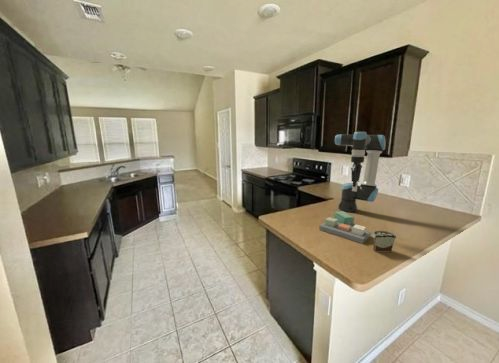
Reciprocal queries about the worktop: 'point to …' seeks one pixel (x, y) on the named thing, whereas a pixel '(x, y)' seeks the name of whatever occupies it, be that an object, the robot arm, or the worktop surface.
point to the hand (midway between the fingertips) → (354, 191)
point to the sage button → (331, 222)
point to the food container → (383, 241)
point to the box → (344, 218)
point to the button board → (345, 233)
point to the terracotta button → (344, 227)
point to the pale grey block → (359, 230)
